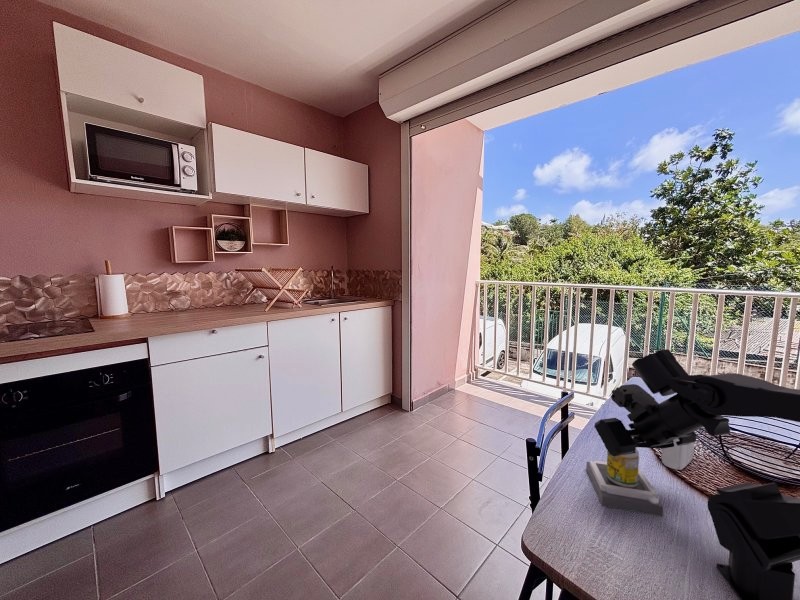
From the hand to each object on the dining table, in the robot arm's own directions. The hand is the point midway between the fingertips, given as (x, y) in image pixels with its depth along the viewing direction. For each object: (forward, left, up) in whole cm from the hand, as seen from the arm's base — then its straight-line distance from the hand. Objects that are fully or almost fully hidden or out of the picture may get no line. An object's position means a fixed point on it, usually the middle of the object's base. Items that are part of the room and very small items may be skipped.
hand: (617, 445), depth 67 cm
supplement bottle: (-1, -1, -7) cm, 7 cm away
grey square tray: (-1, -1, -9) cm, 9 cm away
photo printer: (+15, -18, -10) cm, 25 cm away
